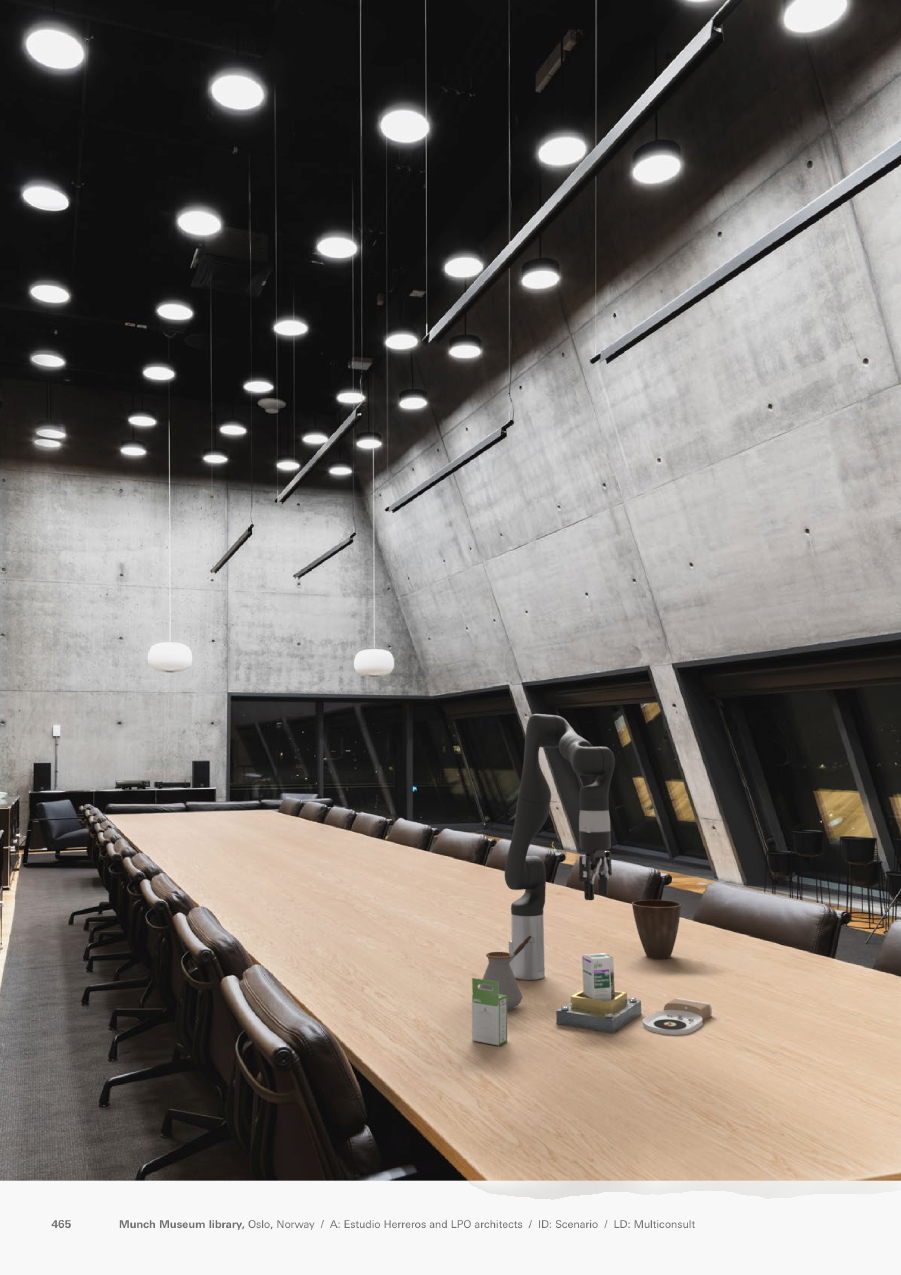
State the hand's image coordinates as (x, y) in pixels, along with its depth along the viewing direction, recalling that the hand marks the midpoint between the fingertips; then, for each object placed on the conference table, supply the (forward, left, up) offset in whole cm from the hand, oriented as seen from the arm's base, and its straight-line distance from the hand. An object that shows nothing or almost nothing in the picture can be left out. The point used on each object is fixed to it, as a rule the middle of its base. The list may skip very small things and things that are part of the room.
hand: (596, 897), depth 212 cm
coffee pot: (-24, 0, -28) cm, 37 cm away
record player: (+16, +7, -29) cm, 34 cm away
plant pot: (-10, +70, -28) cm, 76 cm away
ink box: (-14, -28, -28) cm, 42 cm away
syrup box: (0, 0, -28) cm, 28 cm away
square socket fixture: (0, 0, -28) cm, 28 cm away
